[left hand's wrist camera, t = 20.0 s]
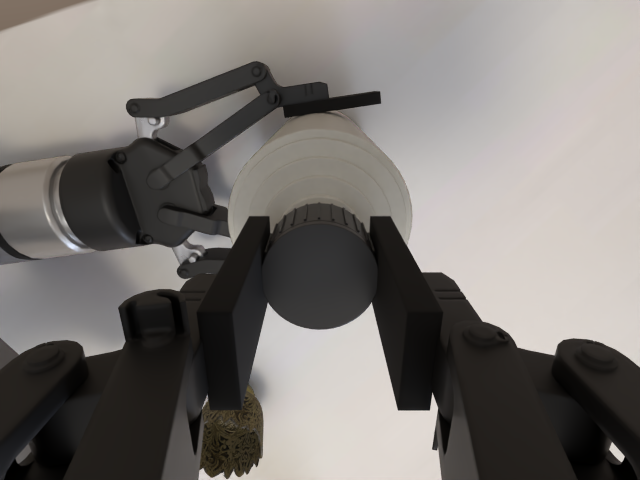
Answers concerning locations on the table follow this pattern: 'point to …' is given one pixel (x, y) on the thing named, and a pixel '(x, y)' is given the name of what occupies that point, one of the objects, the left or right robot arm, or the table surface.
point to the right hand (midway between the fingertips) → (382, 162)
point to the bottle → (319, 175)
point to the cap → (319, 267)
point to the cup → (232, 438)
